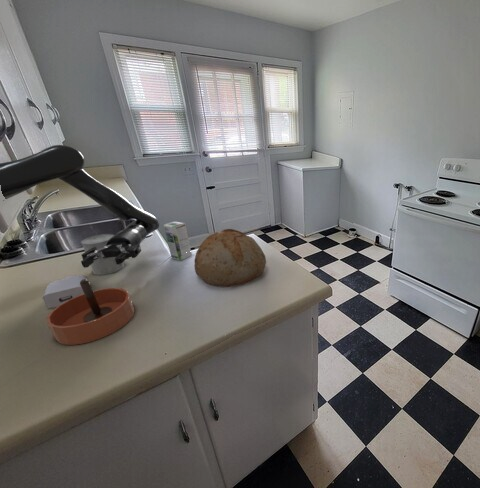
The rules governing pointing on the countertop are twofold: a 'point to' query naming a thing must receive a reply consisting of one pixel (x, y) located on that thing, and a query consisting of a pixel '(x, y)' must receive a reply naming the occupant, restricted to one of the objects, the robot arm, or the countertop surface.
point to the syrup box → (177, 240)
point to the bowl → (77, 332)
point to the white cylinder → (104, 265)
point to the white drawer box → (63, 290)
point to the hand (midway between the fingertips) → (100, 263)
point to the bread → (229, 259)
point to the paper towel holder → (92, 303)
